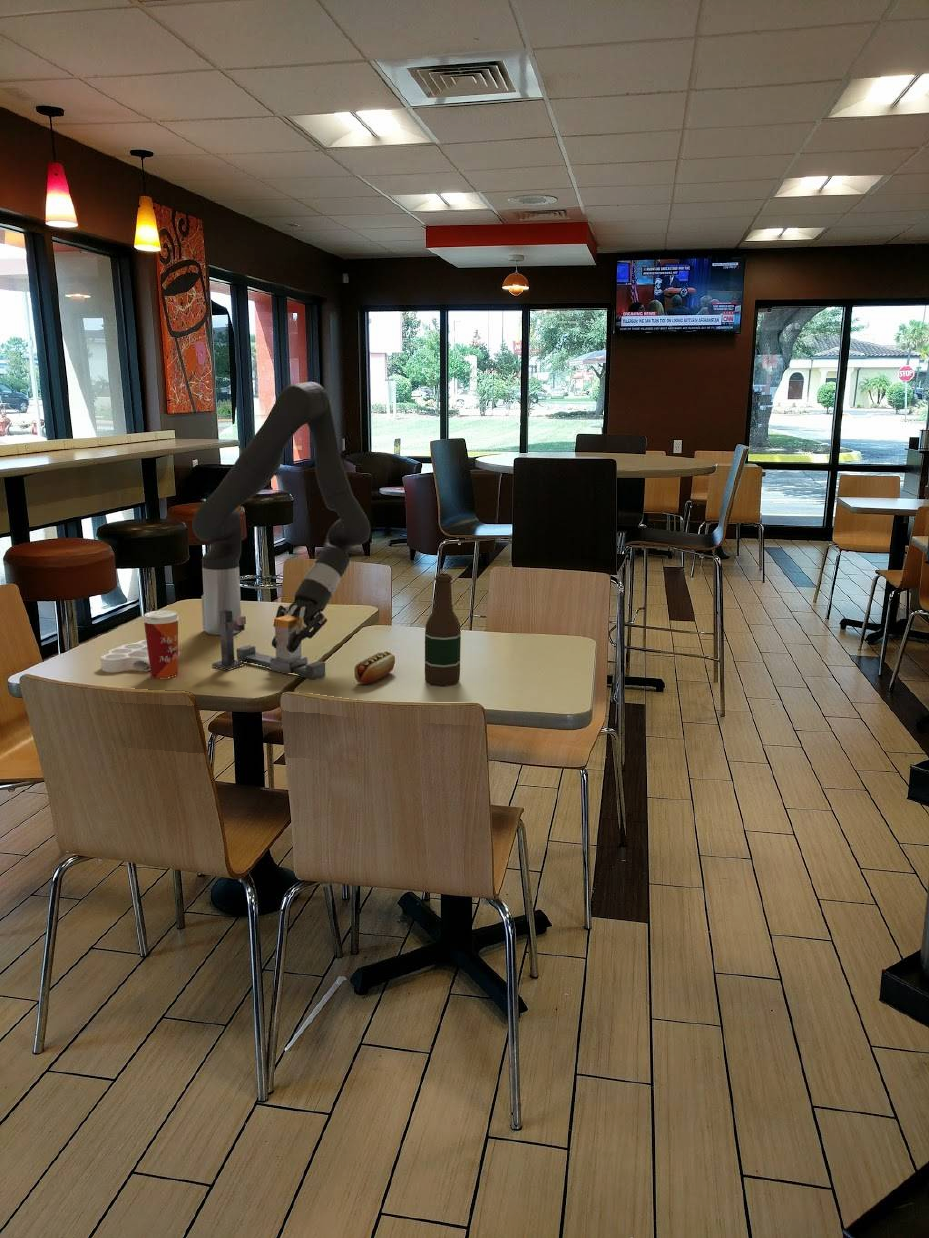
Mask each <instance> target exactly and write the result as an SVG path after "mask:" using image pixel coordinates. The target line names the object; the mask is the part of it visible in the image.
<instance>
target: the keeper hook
mask: <svg viewBox="0 0 929 1238" xmlns="http://www.w3.org/2000/svg"><path fill="white" fill-rule="evenodd" d="M219 614H220V635H219V636H220V650H221V652H220V653H221V660H220V661H216V662H213V663H212V664H211V665H212V666H215V667H218V668H217V669H219V668H222V669H221V670H223V669H225V670H224V671H227V670H228V671H230V670H229V669H231V668H234V667H237V666H240V665H242V664H244V665H245V663H244V662H241V661H237V659H235V643H234V641H235V640H234V634H233V630H235V631H240V632H243V631H245V625H246V624H247V619H246V618H247V617H246V615H242V614H241V616H238V617H237V621H233V617H232V611H230V610H223V611H219ZM212 666H211V667H212ZM215 667H214V668H215ZM231 670H232V669H231Z"/></svg>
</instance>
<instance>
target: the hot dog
mask: <svg viewBox="0 0 929 1238" xmlns="http://www.w3.org/2000/svg"><path fill="white" fill-rule="evenodd" d="M395 664H396V657H395V655H394V654H392V653H391V652H389V651H388V650H387V651H384V652H378V653H375V654H373V655H372V656H369V657H367V658H366V659H364V660H362V661H360V662H359V663H357V664H356V665H355V666H354V669H353V671H354V673H353V674H354V678H355V681H357V682H358V683H360V684H363V685H368V684H372V683H375V682H378V681H379V680H381V679H383V678H385V677H386V676H387V675H389V674H390V673H391V672H392V671H393V669H394V667H395Z"/></svg>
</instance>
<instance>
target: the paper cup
mask: <svg viewBox="0 0 929 1238" xmlns="http://www.w3.org/2000/svg"><path fill="white" fill-rule="evenodd" d="M179 620H180V617H179V616H178V612H177V611H175V610H174V611H173V610H153V611H147V612H146V613H144V616H143V619H142V623H144V625H143V626H144V632H145V638H146V639H145V640H147V648H148V656H149V663H150V666H149V668H150V670H149V671H150V675H151V678H153V679H156V678H159V679H158V680H161V679H160V678H168V677H172V676H175V675H177V674H179V673H178V672H179V657H178V650H179ZM177 676H178V675H177ZM175 677H176V676H175ZM172 678H173V677H172ZM168 679H169V678H168Z"/></svg>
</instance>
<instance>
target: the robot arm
mask: <svg viewBox="0 0 929 1238" xmlns="http://www.w3.org/2000/svg"><path fill="white" fill-rule="evenodd" d="M334 423H335V422H334V418H333V414H332V406H331V403H330V398H329V396H328V393H327V391H326V390H325V388H324V387H323V386H322V385H321V384H320V383H318V382H314V381H304V382H299V383H293V384H289V385H288V386H286V387H285V388H284V389H282V391H281V392H280V394H279V395H278V396H277V398H276V400H275V402H274V404H273V406H272V407H271V410H270V412H269V414H268V415H267V417H266V419H265V420H264V422H263V424H262V425H261V426H260V428H259V429H258V430H257V432H255V434H254V436H253V437H252V439H251V440H250V441H249V443H248V444H247V445H246V446H245V448H244V449H243V451H242V452H241V453H240V455H239V456H238V457H237V459H236V461H235V462H234V464H233V466H232V467H231V468H230V470H229V471H228V472H227V474H226V475H225V476H224V478H223V479H222V481H221V482H220V483H219V484H218V486H217V488H215V490H213V492H212V493H211V494H210V495H209V496H208V497H207V499H206V500H204V502H203V503H202V504H201V505H200V506H199V507H198V509H197V510H196V511H195V513H194V515H193V518H192V526H191V527H192V531H193V534H194V536H195V538H197V539H199V540H200V541H203V542H206V543H213V544H212V546H211V548H210V549H209V550H208V551H207V552H206V553H205V554H203V555H202V557H201V568H202V571H201V572H202V586H203V587H202V589H203V594H202V595H201V596H200V598H201V615H202V618H201V619H202V631H204V632H205V633H206V634H208V635H214V636H221V635H220V614H219V611H223V610H230V611H232V617H233V621H237V617H238V616H242V608H241V607H242V605H241V604H242V603H241V601H242V600H241V584H240V583H241V582H240V581H241V579H240V558H241V556H242V547H243V546H242V543H243V542H242V536H243V534H242V533H243V531H242V530H243V528H242V527H243V526H242V518H241V515H240V513H239V510H238V508H239V507H240V506H241V505H243V504H245V503H246V502H247V501H249V500H250V499H252V498H253V497H255V496H256V495H257V494H259V493H260V492H261V491H262V490H264V489H265V488H266V487H267V485H268V484H269V483H270V482H271V480H272V479H273V478H274V476H275V475H276V474H277V472H278V470H280V468H281V465H282V462H283V459H284V458H283V457H284V453H285V452H284V451H285V447H286V446H287V444H288V442H289V441H290V439H291V438H292V437H293V436H294V435H295V433H297V431H298V430H299V429H301V427H303V426H304V425H306V424H307V427H309V428H308V429H309V431H310V433H311V435H312V440H313V443H314V444H313V445H314V457H315V459H314V462H315V463H314V464H315V465H314V469H315V471H314V472H315V478H316V481H317V484H318V485H317V486H318V488H319V490H320V494H321V497H322V499H323V502H324V504H325V506H326V508H327V509H328V510H329V511H334V512H336V514H337V515H338V517H339V519H337V520H336V521H335V522H333V523H332V525H331V526H330V528H329V530H328V531H327V533H326V537H325V540H324V542H323V548H322V550H321V552H320V554H319V555H318V557H317V558H316V560H315V562H314V564H313V565H312V566H311V567H310V569H309V570H308V571H307V573H306V574H305V576H304V578H303V580H302V581H301V583H300V585H299V586H298V588H297V590H296V592H295V594H294V601H293V602H292V603H290V604H289V606H285V607H284V605H282V604H281V605H279V606H278V607H277V611H276V615H275V618H278V617H282V616H286V615H290V616H295V617H300V618H301V620H300V621H299V625H298V627H297V629H296V634H294V635H293V637H292V638H291V640H290V642H289V644H288V645H287V649H288V650H289V651H290V652H292V653H294V651H295V650H296V649H297V648H298V646H299V645H300V643H301V644H302V641H303V640H305V639H312V638H313V637H314V636H315V635H316V634H317V633H318V632H319V630H321V629H322V628H323V627H324V625H325V624H326V623H327V622H328V619H327V617H326V616H325V614H323V613H322V612H323V611H324V610H325V609H326V608H327V605H328V604H329V602H330V600H331V598H332V597H333V595H334V593H335V592H336V590H337V588H338V585H339V583H340V580H341V579H342V577H343V575H344V574H345V572H346V571H347V568H348V566H349V565H350V564H349V563H350V557H349V554H348V553H349V551H350V549H351V548H352V547H355V546H360V545H363V544H365V543H366V542H368V541H369V539H370V537H371V530H372V529H371V524H370V521H369V519H368V516H367V514H366V513H365V511H364V510H363V508H362V506H361V504H360V503H359V501H358V500H357V498H355V496H354V493H353V490H352V488H351V485H350V481H349V478H348V476H347V472H346V470H345V467H344V463H343V460H342V457H341V453H340V447H339V443H338V438H337V434H336V433H337V432H336V429H335V424H334ZM272 626H273V627H274V628H275V626H274V624H273V625H272ZM240 632H241V631H235V630H233V635H234V634H238V633H240ZM271 646H272V647H273V648H274V649H275V650H276V641H275V636H274V637H273V639H272V641H271Z"/></svg>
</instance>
